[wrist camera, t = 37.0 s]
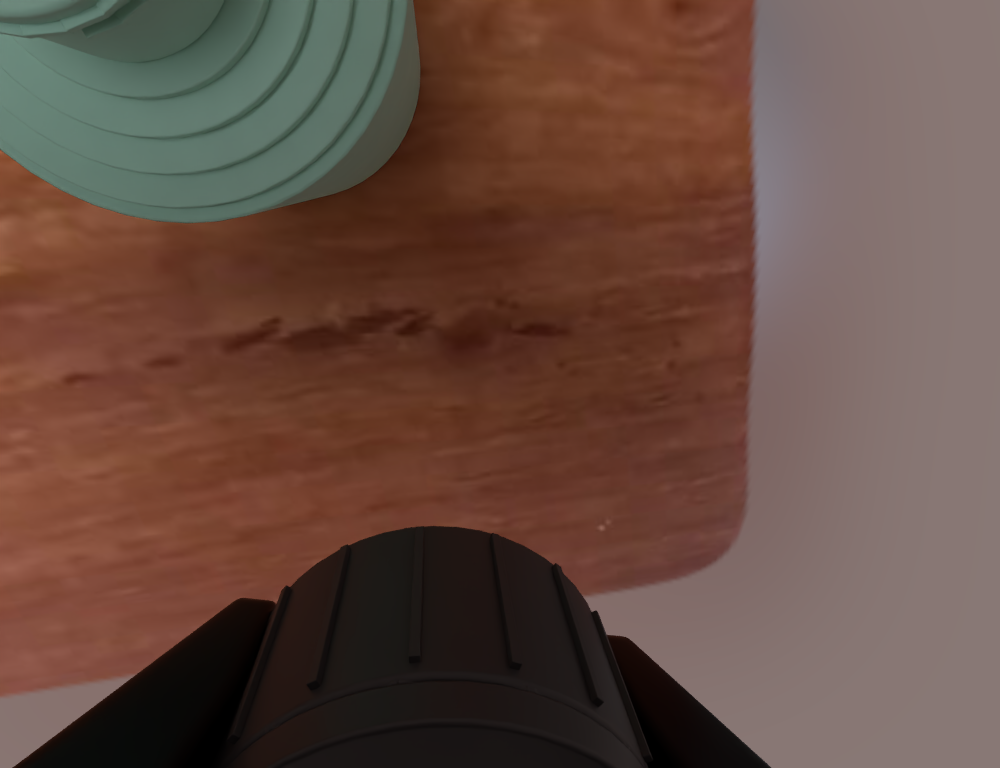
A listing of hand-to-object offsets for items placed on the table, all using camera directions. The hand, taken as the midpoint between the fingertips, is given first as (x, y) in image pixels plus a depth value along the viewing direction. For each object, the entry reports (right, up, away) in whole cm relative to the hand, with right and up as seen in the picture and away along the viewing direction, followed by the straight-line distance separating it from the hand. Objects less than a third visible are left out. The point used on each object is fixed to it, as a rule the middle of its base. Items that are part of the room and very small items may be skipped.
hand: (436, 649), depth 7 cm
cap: (0, -1, -2) cm, 2 cm away
